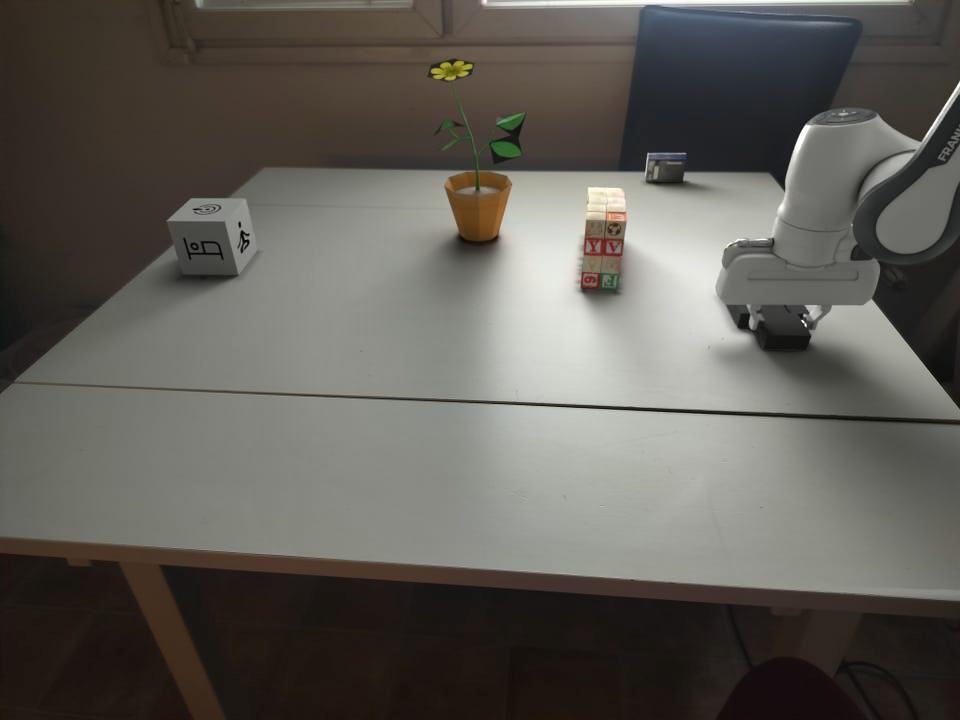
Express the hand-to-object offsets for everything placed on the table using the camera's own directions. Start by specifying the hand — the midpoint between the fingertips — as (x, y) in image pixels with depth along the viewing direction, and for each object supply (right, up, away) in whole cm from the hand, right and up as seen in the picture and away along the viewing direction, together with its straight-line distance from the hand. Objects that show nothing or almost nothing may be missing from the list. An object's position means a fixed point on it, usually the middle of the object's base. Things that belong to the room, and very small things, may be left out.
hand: (781, 328), depth 95 cm
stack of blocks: (-22, +13, +23) cm, 34 cm away
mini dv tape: (-2, +35, +54) cm, 65 cm away
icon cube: (-90, +13, +25) cm, 94 cm away
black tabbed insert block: (0, -1, +2) cm, 2 cm away
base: (0, +3, +8) cm, 9 cm away
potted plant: (-43, +20, +33) cm, 58 cm away
